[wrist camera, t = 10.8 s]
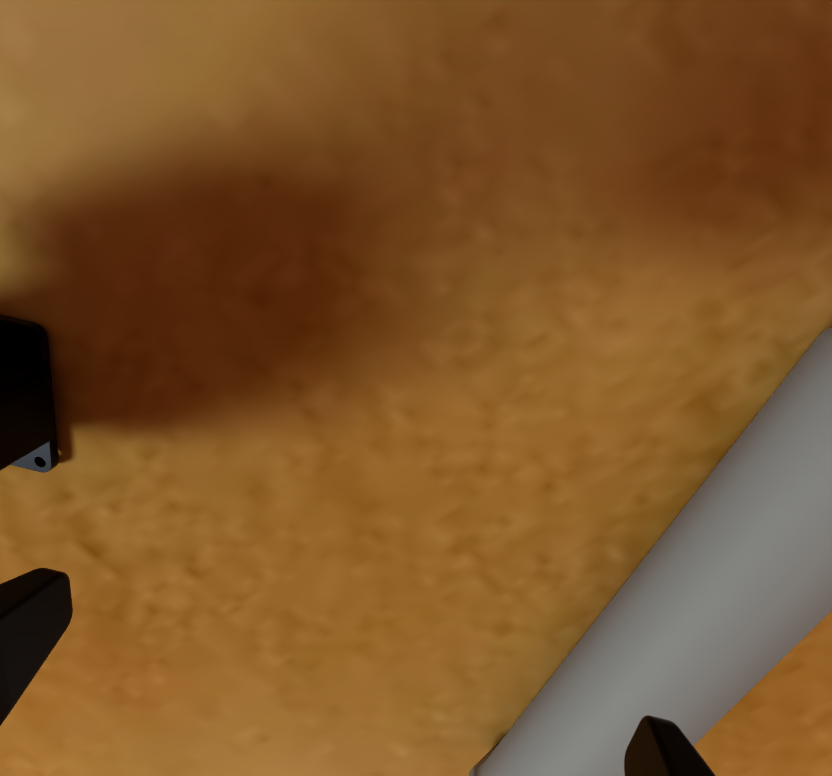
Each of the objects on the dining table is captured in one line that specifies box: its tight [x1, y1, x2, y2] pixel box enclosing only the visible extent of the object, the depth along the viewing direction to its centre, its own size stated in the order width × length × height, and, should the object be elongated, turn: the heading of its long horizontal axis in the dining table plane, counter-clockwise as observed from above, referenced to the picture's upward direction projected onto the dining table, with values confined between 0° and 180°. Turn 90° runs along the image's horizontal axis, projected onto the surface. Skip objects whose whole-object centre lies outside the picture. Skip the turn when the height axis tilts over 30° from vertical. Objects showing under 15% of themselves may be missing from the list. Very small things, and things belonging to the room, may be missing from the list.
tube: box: [469, 327, 832, 776], centre depth 19 cm, size 5×5×25 cm
